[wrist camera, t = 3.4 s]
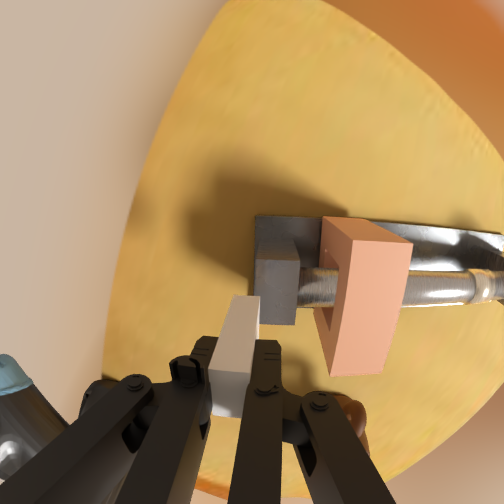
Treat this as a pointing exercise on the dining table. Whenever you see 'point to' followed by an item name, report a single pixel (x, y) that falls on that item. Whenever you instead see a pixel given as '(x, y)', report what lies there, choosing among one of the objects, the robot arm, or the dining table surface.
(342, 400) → the mug
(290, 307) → the pipe rig
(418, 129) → the dining table surface
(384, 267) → the collar
